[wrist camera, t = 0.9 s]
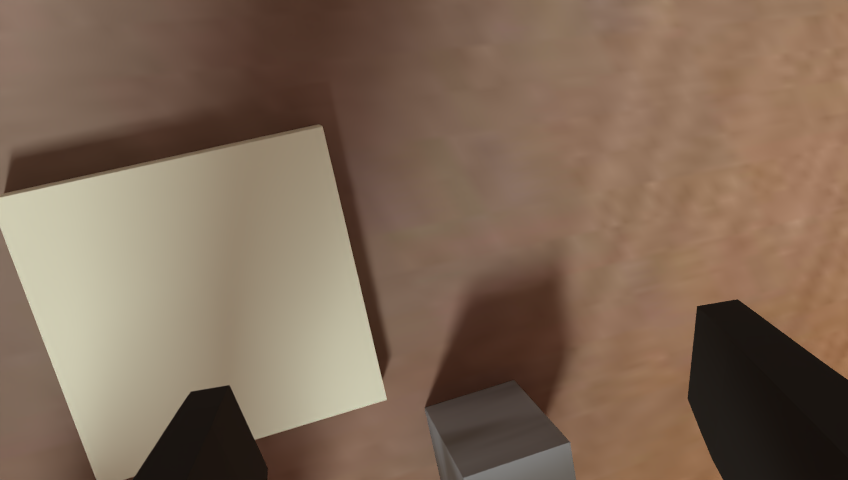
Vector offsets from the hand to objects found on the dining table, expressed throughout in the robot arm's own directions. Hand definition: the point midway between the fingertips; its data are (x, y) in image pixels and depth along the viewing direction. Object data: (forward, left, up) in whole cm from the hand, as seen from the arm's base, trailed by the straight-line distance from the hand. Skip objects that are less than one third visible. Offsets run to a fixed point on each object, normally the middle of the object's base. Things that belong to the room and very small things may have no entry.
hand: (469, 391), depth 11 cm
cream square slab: (-3, +6, -19) cm, 20 cm away
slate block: (-13, -4, -19) cm, 23 cm away
